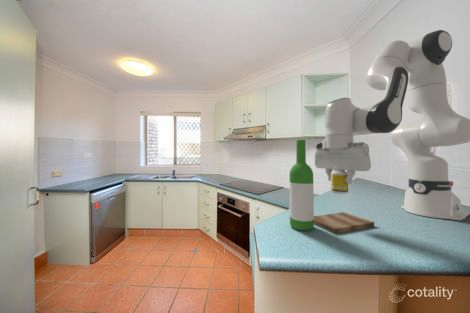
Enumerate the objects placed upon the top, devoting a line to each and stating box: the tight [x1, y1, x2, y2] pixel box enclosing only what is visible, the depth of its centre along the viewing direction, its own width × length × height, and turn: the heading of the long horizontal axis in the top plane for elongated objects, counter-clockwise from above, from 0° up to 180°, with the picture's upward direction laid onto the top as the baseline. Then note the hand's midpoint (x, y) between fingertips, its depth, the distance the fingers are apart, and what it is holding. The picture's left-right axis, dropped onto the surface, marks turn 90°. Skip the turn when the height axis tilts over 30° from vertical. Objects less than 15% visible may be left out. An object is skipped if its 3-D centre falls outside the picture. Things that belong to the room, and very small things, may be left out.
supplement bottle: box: [330, 166, 349, 195], centre depth 65 cm, size 5×5×10 cm
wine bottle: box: [289, 139, 315, 232], centre depth 62 cm, size 8×8×30 cm
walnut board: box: [314, 211, 375, 235], centre depth 65 cm, size 18×12×2 cm, turn 109°
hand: (339, 182), depth 65 cm, fingers closed on supplement bottle, 5 cm apart
